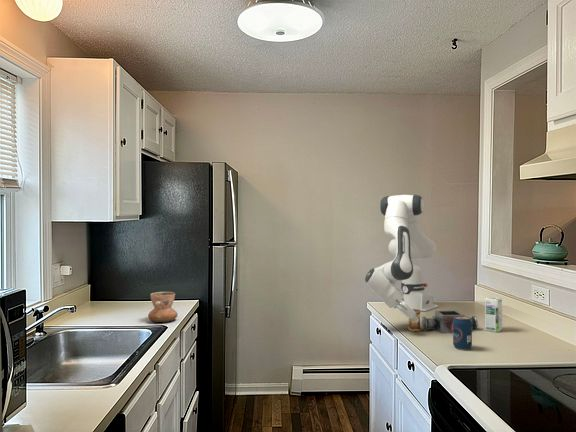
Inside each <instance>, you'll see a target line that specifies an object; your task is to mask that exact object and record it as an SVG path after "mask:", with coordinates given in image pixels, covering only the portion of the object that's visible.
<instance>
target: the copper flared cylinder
mask: <svg viewBox="0 0 576 432" xmlns="http://www.w3.org/2000/svg"><path fill="white" fill-rule="evenodd" d="M413 310H414V311H415V312H416V317H417V318H418V319H419V321H418V322H415V321H414V320H413V319H410V318H409V317H408V327H407V328H408V329H407V331H409V332H412V331H413V333H417V331H419V332H421V331H422V328H421V315H420V314H421V312H422V311H421V310H418V309H413Z"/></svg>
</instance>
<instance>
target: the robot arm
mask: <svg viewBox="0 0 576 432" xmlns="http://www.w3.org/2000/svg"><path fill="white" fill-rule="evenodd" d="M424 208H425V202H424V199H423V197H422V196H421V195H419V194H397V195H387V196H383V197H382V198H381V200H380V203H379V210H380V212H381V214H382V215H383V216H384V222H383V230H384V233H385V235H387V236H388V237H389V238H391V240H390V241H389V243H388V249H387V250H388V253H389V254H390V256H391V257H393V258H394V259H393V260H390V261H388V262H385V263H383V264H381V265H380V266H378V267H375V268H374V267H373V268H371V269H370V270H369V271H368V272H367V273H366V275H365V278H364V281H365V283H366V285H367V287H368V288H369V289H370V290H371V291H372V292H373V293H374V294H375V295H377V296H378V297H379V298H380V299H381V301H383V303H384V304H385V305H386V306H387V307H389V309H390V308H391V309H397V310H399V311H400V312H402V314H403V315H405V316H406V317H408V319H409V318H410V319H413V320H414V321H415V322H418V321H419V319H418V318H417V317H416V312H415V311H414V310H413V309H418V310H421V312H428V311H431V310H433V309H436V308H438V307H439V305H438V304H436V303H434V298H433V295H432V294H430V293H429V292H428V291H427V290H426V288H428V283H427V282H423V269H422V268H421V267H420V266H419V265H418V264H415V263H414V262H413V261H412V259H428V258H432V257H433V256H434V255H435V254H436V251H437V246H436V243H435V242H434V240H433V239H431V238H429V237H428V236H426V234H424V232H423V231H422V229H421V226H420V221H419V216H420V215H421V214H422V213H423V212H424V210H425V209H424ZM400 281H401V284H400V289H401V290H400V289H399V288H398V287H397V286H396V285H395V284H396V283H397V282H400Z"/></svg>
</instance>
